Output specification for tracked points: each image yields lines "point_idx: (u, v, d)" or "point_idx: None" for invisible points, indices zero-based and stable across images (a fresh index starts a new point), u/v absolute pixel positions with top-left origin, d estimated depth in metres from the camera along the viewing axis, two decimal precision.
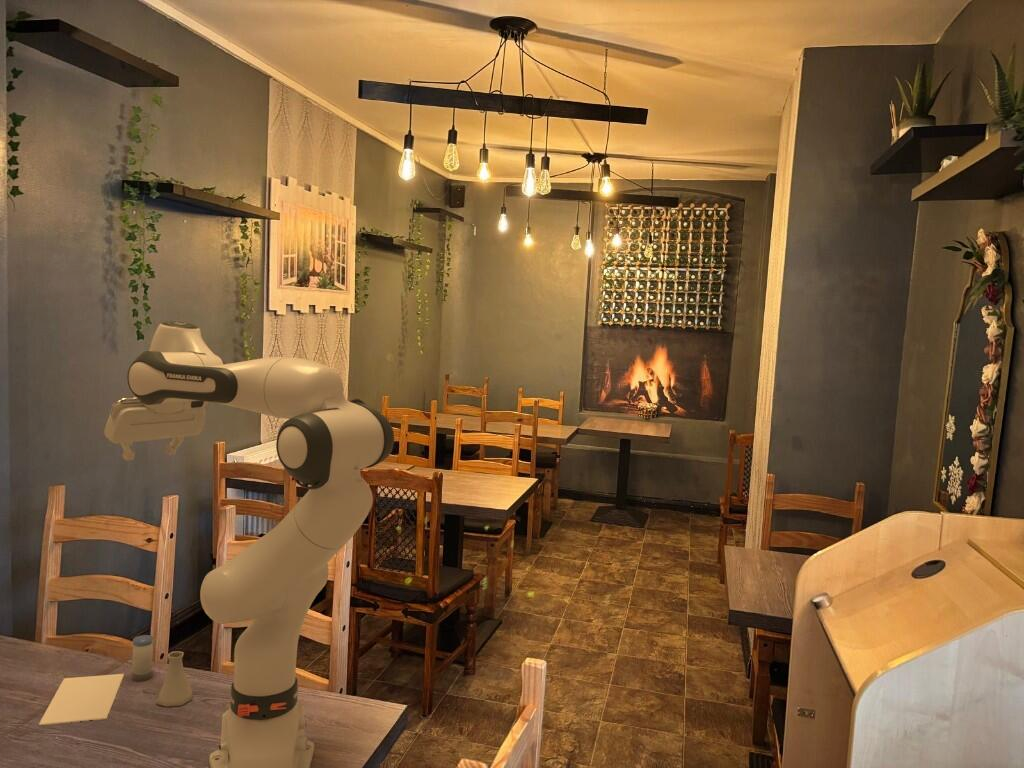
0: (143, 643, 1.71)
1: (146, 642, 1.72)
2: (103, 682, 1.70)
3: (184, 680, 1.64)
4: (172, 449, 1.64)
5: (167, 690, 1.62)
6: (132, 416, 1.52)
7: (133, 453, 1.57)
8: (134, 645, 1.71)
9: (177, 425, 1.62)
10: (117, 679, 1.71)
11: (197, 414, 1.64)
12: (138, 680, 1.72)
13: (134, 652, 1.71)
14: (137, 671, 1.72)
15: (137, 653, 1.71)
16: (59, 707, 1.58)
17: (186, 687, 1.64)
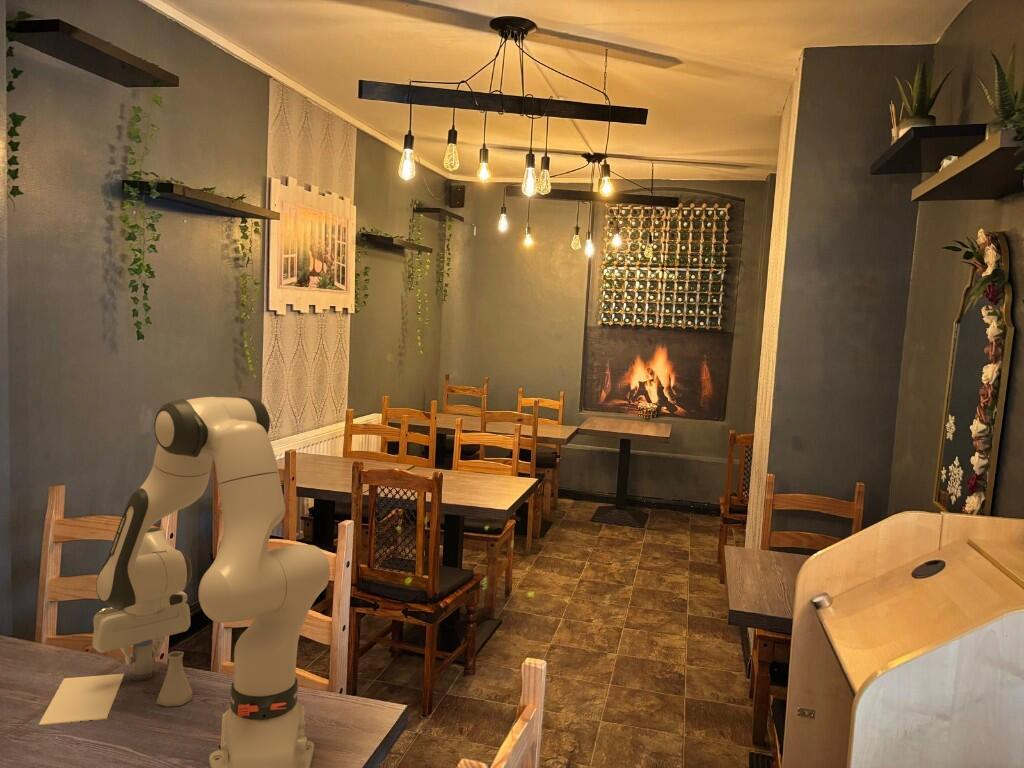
0: (143, 643, 1.71)
1: (146, 642, 1.72)
2: (103, 682, 1.70)
3: (184, 680, 1.64)
4: (155, 651, 1.74)
5: (167, 690, 1.62)
6: (113, 623, 1.66)
7: (133, 656, 1.71)
8: (134, 645, 1.71)
9: (162, 624, 1.74)
10: (117, 679, 1.71)
11: (180, 610, 1.77)
12: (138, 680, 1.72)
13: (134, 652, 1.72)
14: (137, 671, 1.72)
15: (137, 653, 1.71)
16: (59, 707, 1.58)
17: (186, 687, 1.64)
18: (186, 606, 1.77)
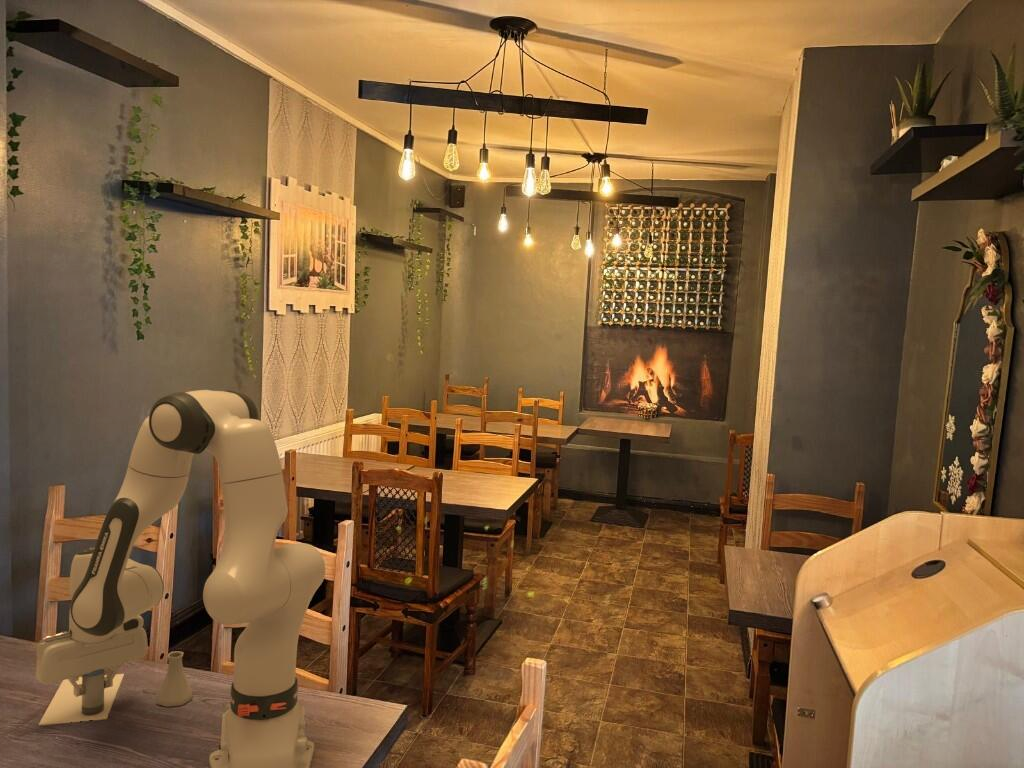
0: (93, 673, 1.55)
1: (97, 672, 1.56)
2: None
3: (184, 680, 1.64)
4: (107, 681, 1.58)
5: (167, 690, 1.62)
6: (58, 652, 1.50)
7: (82, 688, 1.55)
8: (83, 675, 1.55)
9: (115, 652, 1.58)
10: (117, 679, 1.71)
11: (136, 636, 1.61)
12: (88, 713, 1.56)
13: (83, 683, 1.55)
14: (87, 703, 1.55)
15: (86, 683, 1.55)
16: (59, 707, 1.58)
17: (186, 687, 1.64)
18: (142, 631, 1.61)
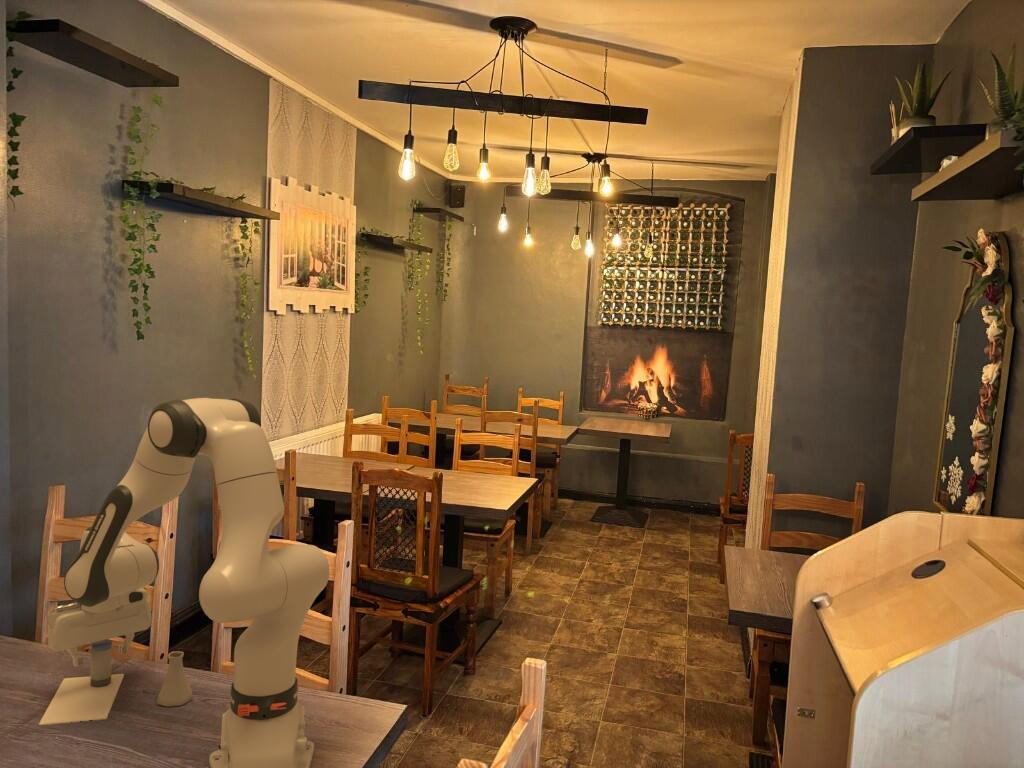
0: (101, 647, 1.67)
1: (105, 646, 1.68)
2: None
3: (184, 680, 1.64)
4: (123, 647, 1.71)
5: (168, 690, 1.62)
6: (69, 621, 1.62)
7: (81, 658, 1.65)
8: (92, 649, 1.67)
9: (121, 622, 1.70)
10: (117, 679, 1.71)
11: (141, 608, 1.72)
12: (96, 686, 1.67)
13: (92, 657, 1.67)
14: (95, 676, 1.67)
15: (95, 657, 1.67)
16: (59, 707, 1.58)
17: (186, 687, 1.64)
18: (147, 604, 1.73)
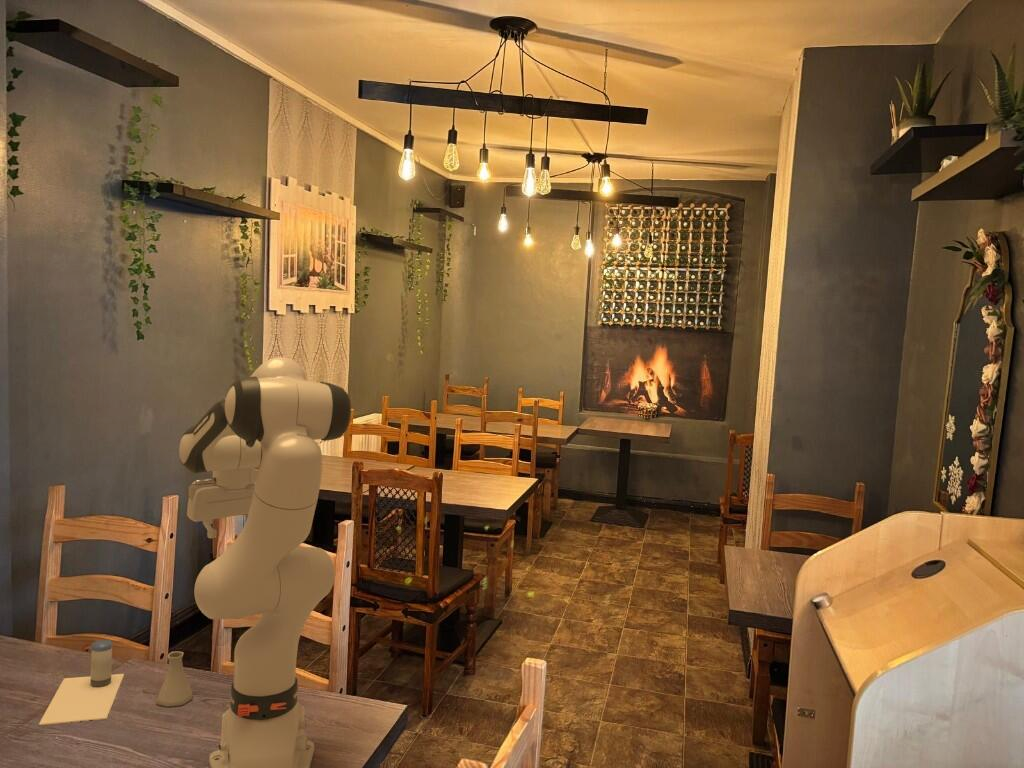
0: (102, 648, 1.67)
1: (105, 647, 1.67)
2: None
3: (184, 680, 1.64)
4: None
5: (168, 691, 1.62)
6: (206, 494, 1.73)
7: (215, 531, 1.77)
8: (93, 650, 1.67)
9: (250, 501, 1.81)
10: (117, 679, 1.71)
11: None
12: (96, 686, 1.67)
13: (92, 657, 1.67)
14: (95, 677, 1.67)
15: (95, 658, 1.67)
16: (59, 707, 1.58)
17: (186, 687, 1.64)
18: None
